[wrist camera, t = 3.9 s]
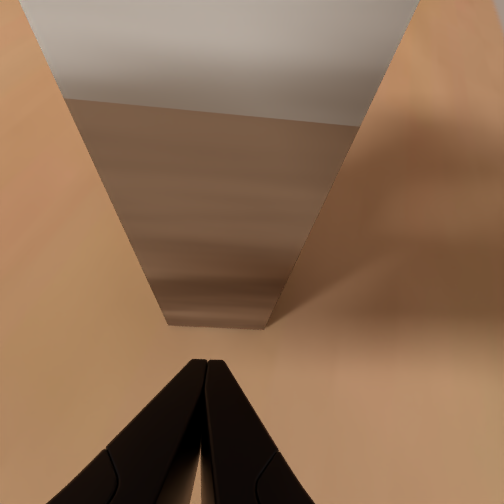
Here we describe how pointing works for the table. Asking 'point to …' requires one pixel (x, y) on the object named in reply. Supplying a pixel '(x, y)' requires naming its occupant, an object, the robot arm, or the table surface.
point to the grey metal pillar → (218, 130)
